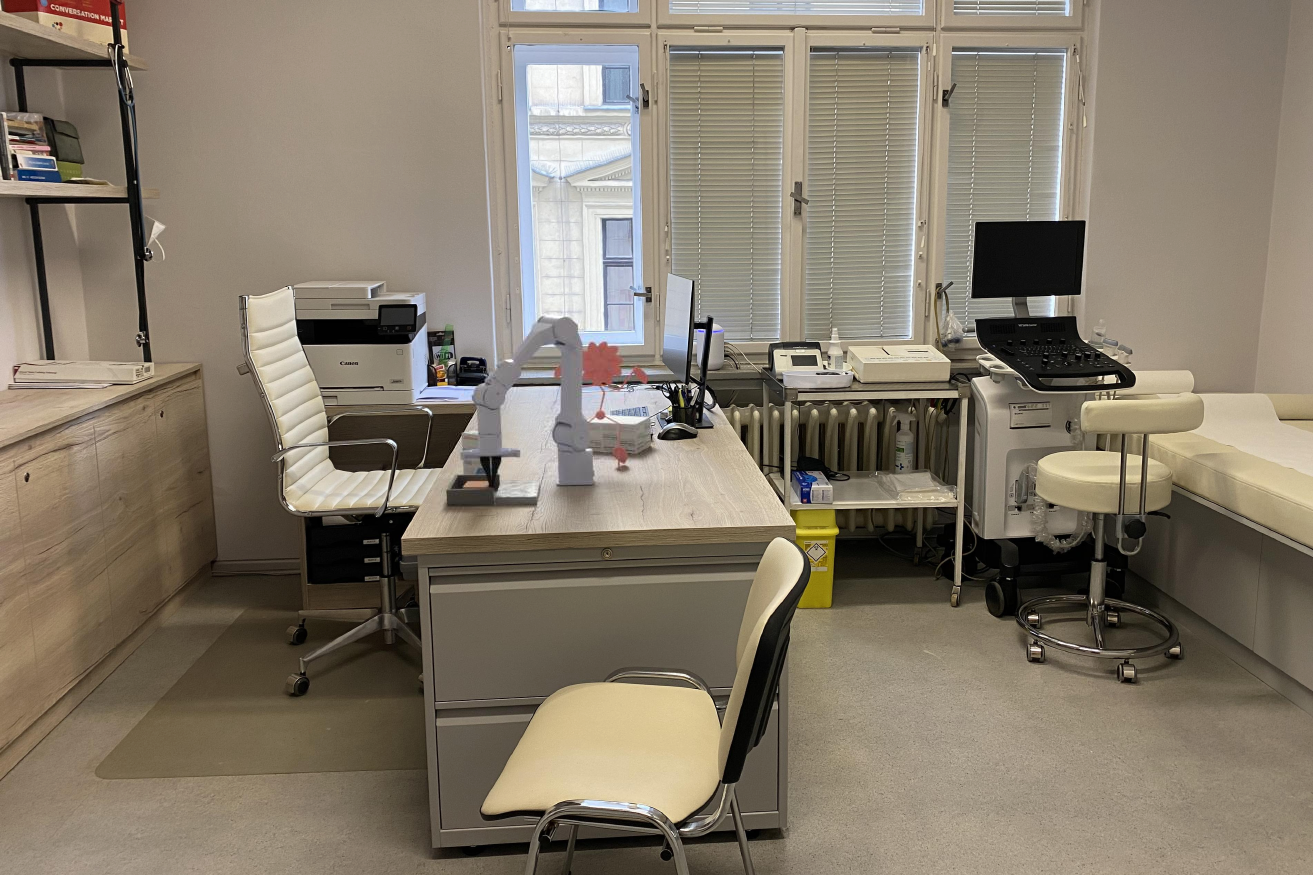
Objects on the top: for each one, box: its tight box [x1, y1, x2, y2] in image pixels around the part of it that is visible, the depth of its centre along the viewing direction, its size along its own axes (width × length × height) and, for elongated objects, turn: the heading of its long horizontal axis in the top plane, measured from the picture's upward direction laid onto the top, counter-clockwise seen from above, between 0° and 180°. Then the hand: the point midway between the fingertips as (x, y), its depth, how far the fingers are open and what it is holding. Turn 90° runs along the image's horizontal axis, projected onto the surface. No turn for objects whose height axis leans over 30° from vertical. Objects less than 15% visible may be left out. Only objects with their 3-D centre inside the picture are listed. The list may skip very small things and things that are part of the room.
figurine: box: [553, 341, 649, 470], centre depth 283 cm, size 15×26×35 cm, turn 95°
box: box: [445, 473, 501, 507], centre depth 250 cm, size 11×16×4 cm
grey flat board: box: [494, 480, 541, 506], centre depth 251 cm, size 10×16×2 cm, turn 3°
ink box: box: [461, 430, 499, 474], centre depth 273 cm, size 8×5×12 cm, turn 59°
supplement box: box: [586, 414, 652, 455], centre depth 307 cm, size 17×13×9 cm
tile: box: [463, 481, 492, 489], centre depth 252 cm, size 6×6×2 cm
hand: (491, 486), depth 250 cm, fingers closed
